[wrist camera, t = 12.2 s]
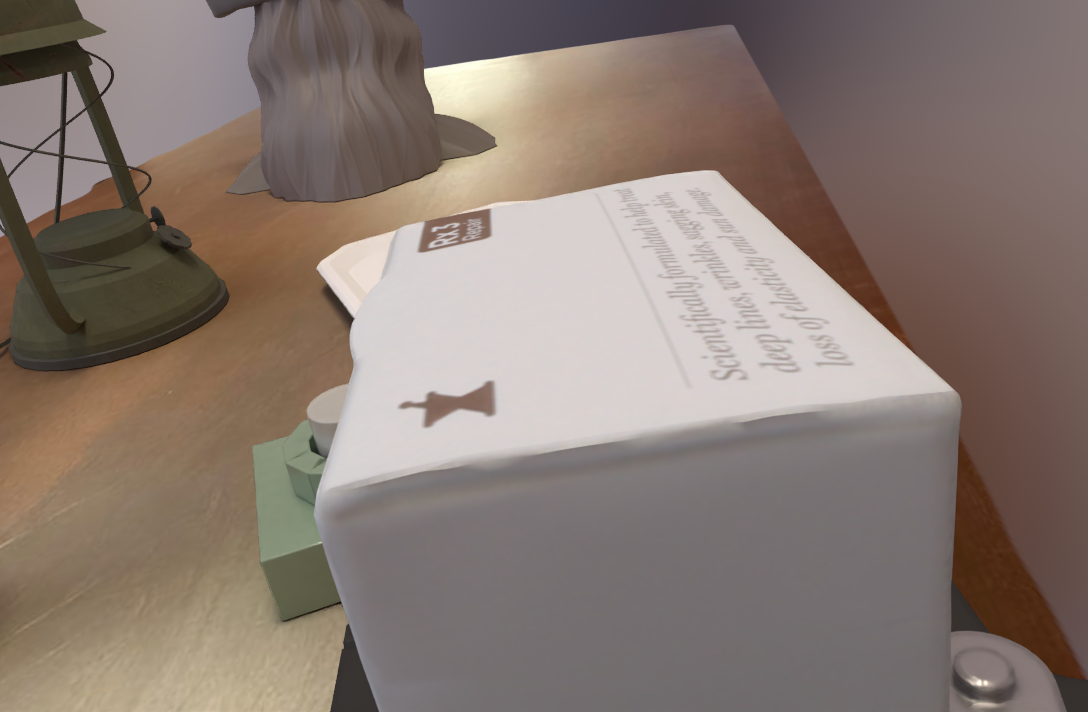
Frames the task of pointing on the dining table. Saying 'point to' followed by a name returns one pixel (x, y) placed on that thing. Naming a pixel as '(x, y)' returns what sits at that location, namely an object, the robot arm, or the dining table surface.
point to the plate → (363, 266)
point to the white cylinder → (326, 417)
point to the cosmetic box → (637, 469)
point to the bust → (343, 100)
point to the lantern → (91, 228)
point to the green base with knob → (292, 523)
